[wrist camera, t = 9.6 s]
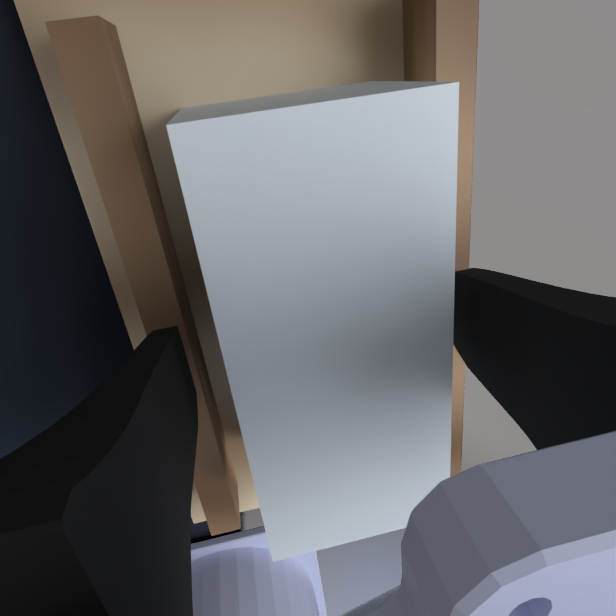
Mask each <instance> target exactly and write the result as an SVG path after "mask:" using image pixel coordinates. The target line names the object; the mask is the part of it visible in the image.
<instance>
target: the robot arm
mask: <svg viewBox="0 0 616 616" xmlns="http://www.w3.org/2000/svg"><path fill="white" fill-rule="evenodd" d="M453 345H454V346H455V348H456V350H457V351H458V353H459V355H460V356H461V358H462V359H463V361H464V362H465V364H466V365H467V367H468V368H469V369H470V370H471V371H472V373H473V374H474V375H475V376H476V377H477V378H478V380H479V381H480V382H481V383H482V384H483V385H484V387H485V388H486V389H487V390H488V391H489V392H490V393H491V394H492V396H493V397H494V398H495V399H496V400H497V401H498V402H499V404H501V406H502V407H503V408H504V409H505V410H506V411H507V413H508V414H509V415H510V416H511V417H512V418H513V419H514V420H515V422H516V423H517V424H518V425H519V426H520V428H521V429H522V430H523V431H524V432H525V434H526V435H527V436H528V438H529V439H530V440H531V442H532V443H533V445H534V446H535V447H536V449H537V450H536V451H532V452H528V453H524V454H520V455H516V456H512V457H508V458H504V459H500V460H496V461H491V462H487V463H484V464H479V465H476V466H474V467H472V468H469V469H467V470H465V471H463V472H460V473H458V474H456V475H454V476H451V477H449V478H447V479H445V480H443V481H440V482H439V483H438V484H437V485H436V486H435V487H434V488H433V489H432V490H431V491H430V492H429V493H428V494H427V495H426V496H425V497H424V498H423V499H422V500H421V501H420V502H419V503H418V504H417V505H416V506H415V507H414V509H413V510H412V512H411V514H410V517H409V520H408V523H407V526H406V530H405V533H404V536H403V539H402V542H401V554H402V580H401V585H399V586H397V587H395V588H393V589H391V590H389V591H387V592H385V593H383V594H381V595H379V596H377V597H375V598H373V599H372V600H370V601H368V602H366V603H364V604H362V605H360V606H358V607H356V608H354V609H352V610H350V611H348V612H346V613H344V614H342V615H340V616H616V298H615V297H607V296H602V295H596V294H590V293H585V292H580V291H576V290H570V289H565V288H561V287H556V286H553V285H548V284H544V283H540V282H536V281H532V280H528V279H524V278H520V277H516V276H512V275H508V274H504V273H499V272H495V271H490V270H485V269H478V268H470V269H465V270H460V271H455V289H454V332H453ZM197 435H198V407H197V392H196V388H195V385H194V381H193V378H192V374H191V371H190V367H189V364H188V360H187V357H186V353H185V350H184V346H183V343H182V339H181V336H180V332H179V329H178V326H173V327H168V328H163V329H158V330H153V331H152V332H151V333H149V334H148V335H147V336H146V338H145V339H144V340H143V341H142V342H141V343H140V344H139V345H138V346H137V347H136V348H135V350H134V351H133V352H132V353H131V354H130V355H129V356H128V357H127V358H126V359H125V360H124V361H123V363H122V364H121V365H120V366H119V367H118V368H117V369H116V370H115V371H114V372H113V373H112V374H111V375H110V376H109V377H108V378H107V379H106V380H105V381H104V382H103V383H102V384H101V385H100V386H98V387H97V388H96V389H95V390H94V391H93V392H92V393H91V394H90V395H89V396H88V397H87V398H86V399H84V400H83V401H82V402H81V403H80V404H79V405H77V406H76V407H75V408H74V409H73V410H71V411H70V412H69V413H67V414H66V415H65V416H64V417H62V418H61V419H60V420H58V421H57V422H56V423H54V424H53V425H52V426H50V427H49V428H47V429H46V430H44V431H43V432H41V433H40V434H39V435H37V436H36V437H34V438H33V439H31V440H30V441H28V442H27V443H25V444H24V445H22V446H21V447H19V448H18V449H16V450H15V451H13V452H11V453H10V454H8V455H6V456H5V457H3V458H1V459H0V616H327V612H326V606H325V600H324V594H323V589H322V583H321V578H320V572H319V566H318V560H317V555H316V551H314V552H310V553H306V554H302V555H298V556H294V557H290V558H287V559H283V560H279V561H275V562H273V560H272V556H271V552H270V548H269V544H268V540H267V536H266V531H265V527H264V526H261V527H257V528H253V529H249V530H245V531H241V532H237V533H233V534H229V535H225V536H221V537H217V538H213V539H209V540H205V541H201V542H197V543H193V544H191V524H190V519H191V500H192V489H193V479H194V468H195V458H196V447H197Z"/></svg>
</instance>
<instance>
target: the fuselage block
mask: <svg viewBox="0 0 616 616" xmlns="http://www.w3.org/2000/svg"><path fill="white" fill-rule="evenodd" d="M458 115H459V82H428V81H367V82H360V83H353V84H346V85H339V86H332V87H325V88H318V89H311V90H304V91H297V92H290V93H283V94H276V95H269V96H262V97H255V98H248V99H241V100H234V101H228V102H221V103H214V104H207V105H200V106H193V107H186V108H181V109H180V110H179V111H178V112H177V114H176V115H175V116H174V117H173V118H172V119H171V120H170V121H169V122H168V123H167V124H166V127H167V131H168V135H169V139H170V144H171V148H172V152H173V156H174V160H175V164H176V168H177V172H178V176H179V180H180V184H181V188H182V193H183V197H184V201H185V205H186V209H187V213H188V217H189V221H190V225H191V229H192V233H193V237H194V242H195V246H196V250H197V254H198V258H199V262H200V266H201V270H202V274H203V278H204V282H205V286H206V291H207V295H208V299H209V303H210V307H211V311H212V315H213V319H214V323H215V327H216V331H217V335H218V340H219V344H220V348H221V352H222V356H223V360H224V364H225V368H226V372H227V376H228V380H229V384H230V389H231V393H232V397H233V401H234V405H235V409H236V413H237V417H238V421H239V425H240V429H241V433H242V438H243V442H244V446H245V450H246V454H247V458H248V462H249V466H250V470H251V474H252V478H253V482H254V487H255V491H256V495H257V499H258V503H259V507H260V511H261V515H262V519H263V523H264V527H265V531H266V536H267V540H268V544H269V548H270V552H271V556H272V560H273V562H275V561H279V560H283V559H287V558H290V557H294V556H298V555H302V554H306V553H310V552H314V551H317V550H321V549H325V548H329V547H333V546H336V545H341V544H344V543H348V542H352V541H356V540H360V539H364V538H368V537H371V536H375V535H379V534H383V533H387V532H391V531H395V530H398V529H402V528H406V526H407V523H408V520H409V517H410V514H411V512H412V510H413V509H414V507H415V506H416V505H417V504H418V503H419V502H420V501H421V500H422V499H423V498H424V497H425V496H426V495H427V494H428V493H429V492H430V491H431V490H432V489H433V488H434V487H435V486H436V485H437V484H438V483H439V482H440V481H443V480H445V479H447V478H449V477H450V462H451V419H452V375H453V332H454V289H455V245H456V202H457V159H458Z"/></svg>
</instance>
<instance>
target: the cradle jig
mask: <svg viewBox="0 0 616 616" xmlns="http://www.w3.org/2000/svg"><path fill="white" fill-rule="evenodd" d="M14 3H15V6H16V9H17V12H18V15H19V17H20V20H21V23H22V26H23V29H24V32H25V35H26V38H27V41H28V44H29V47H30V49H31V52H32V55H33V58H34V61H35V64H36V67H37V70H38V73H39V76H40V78H41V81H42V84H43V87H44V90H45V93H46V96H47V99H48V102H49V105H50V108H51V110H52V113H53V116H54V119H55V122H56V125H57V128H58V131H59V134H60V137H61V139H62V142H63V145H64V148H65V151H66V154H67V157H68V160H69V163H70V166H71V169H72V171H73V174H74V177H75V180H76V183H77V186H78V189H79V192H80V195H81V198H82V200H83V203H84V206H85V209H86V212H87V215H88V218H89V221H90V224H91V227H92V230H93V232H94V235H95V238H96V241H97V244H98V247H99V250H100V253H101V256H102V259H103V261H104V264H105V267H106V270H107V273H108V276H109V279H110V282H111V285H112V288H113V290H114V293H115V296H116V299H117V302H118V305H119V308H120V311H121V314H122V317H123V320H124V322H125V325H126V328H127V331H128V334H129V337H130V340H131V343H132V346H133V349H134V350H135V348H136V347H137V346H138V345H139V344H140V343H141V342H142V341H143V340H144V339H145V338H146V336H147V335H148V334H149V333H151V332H152V331H153V330H158V329H163V328H168V327H173V326H178V329H179V332H180V336H181V339H182V343H183V346H184V350H185V353H186V357H187V360H188V364H189V367H190V371H191V374H192V378H193V381H194V385H195V388H196V392H197V407H198V435H197V447H196V458H195V468H194V479H193V489H192V500H191V517H192V520H193V523H199V522H203V521H207V523H208V527H209V530H210V533H211V536H214V535H218V534H222V533H226V532H230V531H234V530H238V529H241V524H240V512H244V511H248V510H251V509H256V508H260V507H259V503H258V499H257V495H256V491H255V487H254V482H253V478H252V474H251V470H250V466H249V462H248V458H247V454H246V450H245V446H244V442H243V438H242V433H241V429H240V425H239V421H238V417H237V413H236V409H235V405H234V401H233V397H232V393H231V389H230V384H229V380H228V376H227V372H226V368H225V364H224V360H223V356H222V352H221V348H220V344H219V340H218V335H217V331H216V327H215V323H214V319H213V315H212V311H211V307H210V303H209V299H208V295H207V291H206V286H205V282H204V278H203V274H202V270H201V266H200V262H199V258H198V254H197V250H196V246H195V242H194V237H193V233H192V229H191V225H190V221H189V217H188V213H187V209H186V205H185V201H184V197H183V193H182V188H181V184H180V180H179V176H178V172H177V168H176V164H175V160H174V156H173V152H172V148H171V144H170V139H169V135H168V131H167V127H166V124H167V123H168V122H169V121H170V120H171V119H172V118H173V117H174V116H175V115H176V114H177V112H178V111H179V110H180V109H181V108H186V107H193V106H200V105H207V104H214V103H221V102H228V101H234V100H241V99H248V98H255V97H262V96H269V95H276V94H283V93H290V92H297V91H304V90H311V89H318V88H325V87H332V86H339V85H346V84H353V83H360V82H367V81H428V82H459V115H458V159H457V202H456V245H455V271H460V270H465V269H469V251H470V227H471V201H472V174H473V149H474V124H475V98H476V71H477V46H478V20H479V0H14ZM464 381H465V362H464V361H463V359H462V358H461V356H460V355H459V353H458V351H457V350H456V348H455V346H454V345H453V375H452V419H451V462H450V477H451V476H454V475H456V474H458V473H460V472H461V459H462V458H461V457H462V434H463V408H464Z"/></svg>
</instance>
